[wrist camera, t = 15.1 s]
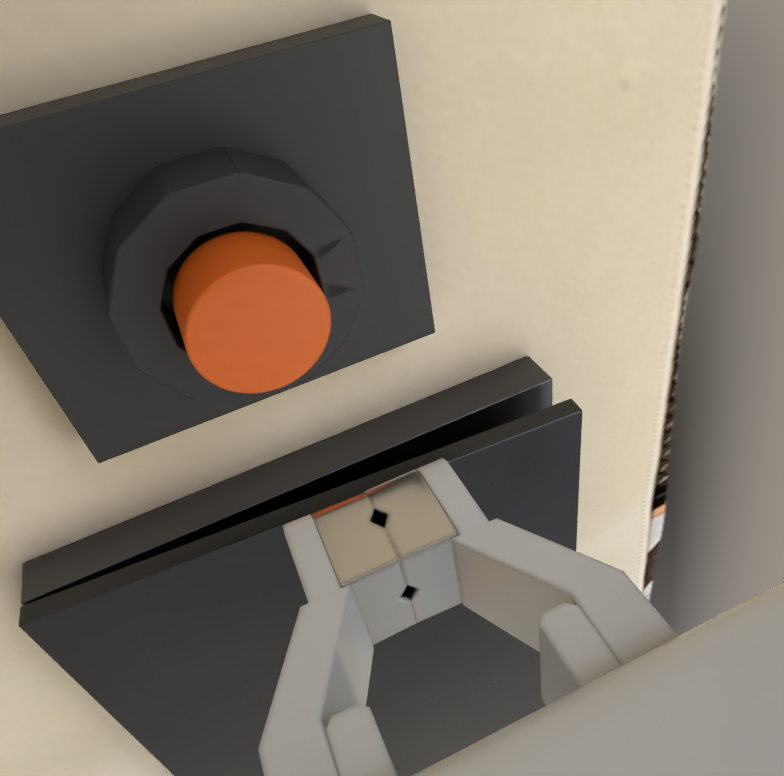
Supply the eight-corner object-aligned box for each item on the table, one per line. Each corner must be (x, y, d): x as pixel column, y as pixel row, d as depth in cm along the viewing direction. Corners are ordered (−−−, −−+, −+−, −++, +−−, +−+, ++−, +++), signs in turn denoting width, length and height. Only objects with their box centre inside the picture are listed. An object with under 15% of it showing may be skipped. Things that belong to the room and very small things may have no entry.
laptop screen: (570, 396, 25) (582, 410, 25) (561, 718, 45) (568, 730, 44) (20, 603, 22) (17, 626, 21) (268, 853, 41) (271, 869, 41)
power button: (200, 369, 18) (215, 414, 17) (149, 256, 16) (160, 297, 14) (320, 325, 19) (345, 364, 17) (288, 210, 17) (313, 243, 15)
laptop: (528, 355, 28) (554, 379, 26) (537, 678, 47) (552, 702, 46) (21, 563, 23) (20, 606, 22) (261, 824, 43) (269, 855, 41)
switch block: (96, 438, 22) (102, 511, 19) (-97, 141, 15) (-128, 190, 13) (420, 315, 24) (464, 365, 21) (372, 13, 18) (427, 32, 15)
